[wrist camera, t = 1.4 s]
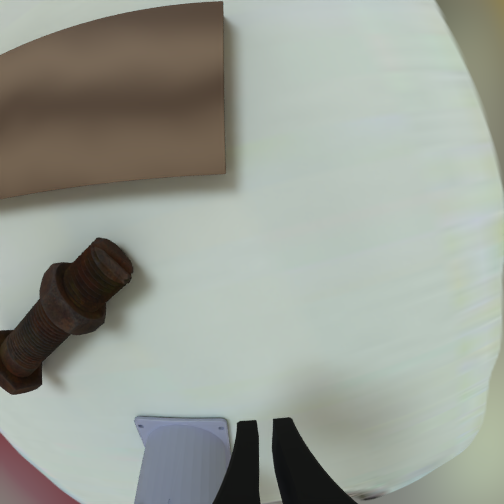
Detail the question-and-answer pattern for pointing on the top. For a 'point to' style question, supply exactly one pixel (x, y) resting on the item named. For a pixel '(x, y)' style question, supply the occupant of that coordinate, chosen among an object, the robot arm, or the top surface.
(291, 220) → the top surface
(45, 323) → the bolt
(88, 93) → the plank
